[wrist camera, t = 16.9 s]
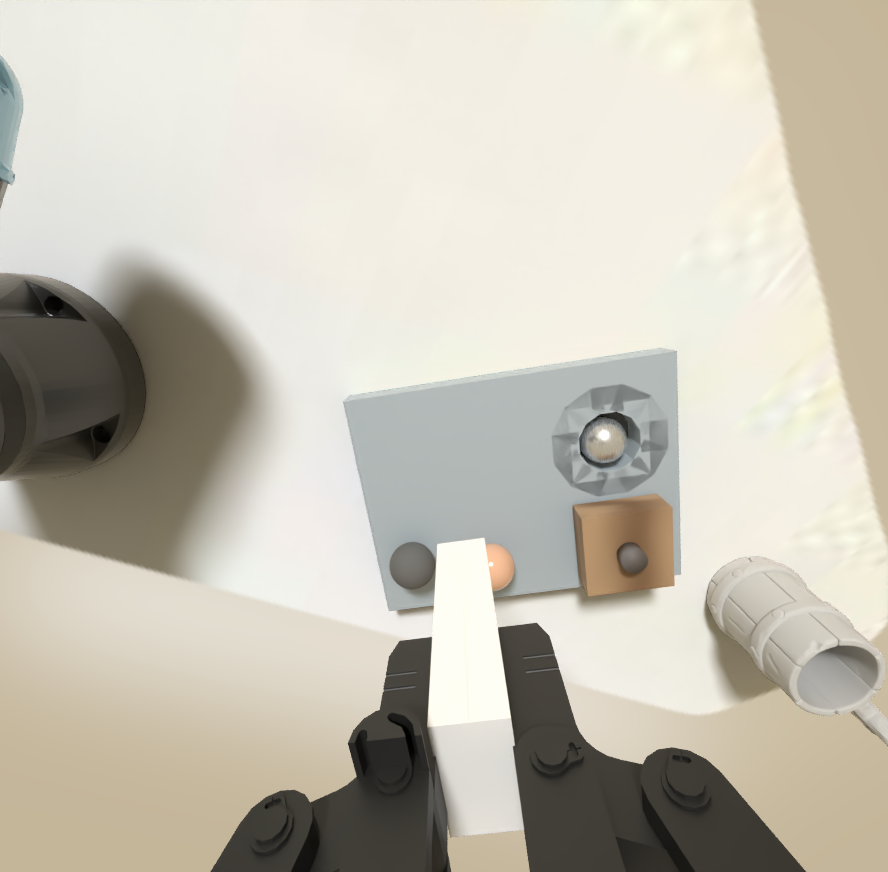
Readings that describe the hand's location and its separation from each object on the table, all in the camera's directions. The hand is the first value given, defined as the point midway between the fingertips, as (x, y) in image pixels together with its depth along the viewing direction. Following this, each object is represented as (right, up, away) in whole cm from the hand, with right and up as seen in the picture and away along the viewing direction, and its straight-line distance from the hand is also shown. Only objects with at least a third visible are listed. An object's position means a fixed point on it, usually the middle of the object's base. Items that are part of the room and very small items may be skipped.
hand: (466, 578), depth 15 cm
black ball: (-3, -5, +20) cm, 21 cm away
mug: (+27, -10, +26) cm, 39 cm away
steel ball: (+11, +4, +20) cm, 23 cm away
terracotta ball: (+3, -5, +20) cm, 21 cm away
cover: (+13, -3, +21) cm, 25 cm away
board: (+5, +1, +23) cm, 24 cm away
